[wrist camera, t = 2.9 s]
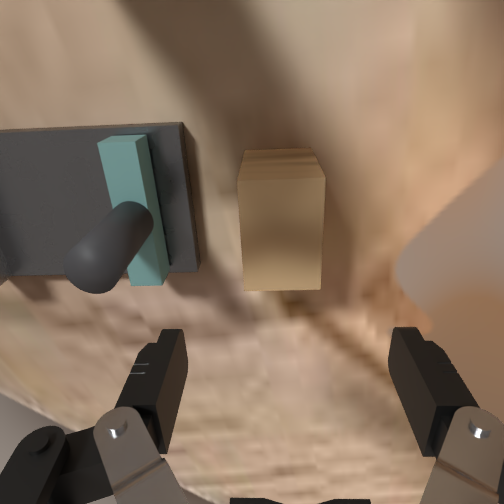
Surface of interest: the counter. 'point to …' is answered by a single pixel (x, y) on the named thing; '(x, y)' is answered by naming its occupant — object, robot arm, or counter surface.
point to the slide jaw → (123, 224)
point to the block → (281, 219)
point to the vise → (83, 194)
